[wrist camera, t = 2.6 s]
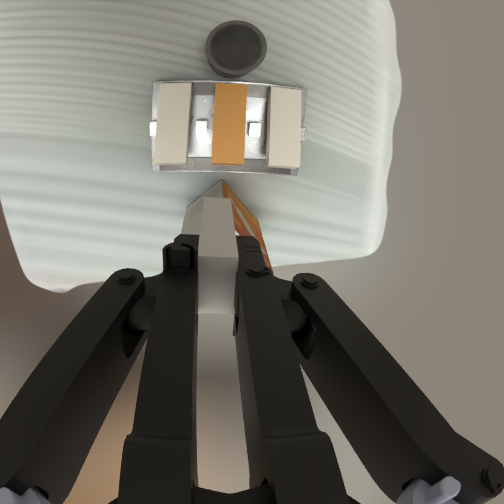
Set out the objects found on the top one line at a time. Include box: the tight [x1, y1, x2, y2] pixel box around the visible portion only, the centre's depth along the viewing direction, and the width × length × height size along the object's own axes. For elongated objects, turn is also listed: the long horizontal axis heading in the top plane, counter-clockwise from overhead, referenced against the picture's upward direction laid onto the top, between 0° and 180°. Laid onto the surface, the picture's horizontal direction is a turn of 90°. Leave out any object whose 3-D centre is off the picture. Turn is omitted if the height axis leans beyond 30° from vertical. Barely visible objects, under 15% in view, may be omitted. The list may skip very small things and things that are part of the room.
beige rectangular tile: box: [266, 87, 301, 169], centre depth 31 cm, size 9×3×2 cm, turn 176°
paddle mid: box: [211, 83, 247, 166], centre depth 30 cm, size 9×3×2 cm, turn 176°
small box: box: [181, 180, 273, 272], centre depth 35 cm, size 8×6×13 cm
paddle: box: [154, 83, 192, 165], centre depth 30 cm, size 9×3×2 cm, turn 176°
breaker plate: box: [150, 81, 307, 176], centre depth 33 cm, size 11×18×4 cm, turn 86°
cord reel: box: [206, 21, 267, 78], centre depth 27 cm, size 6×6×8 cm
